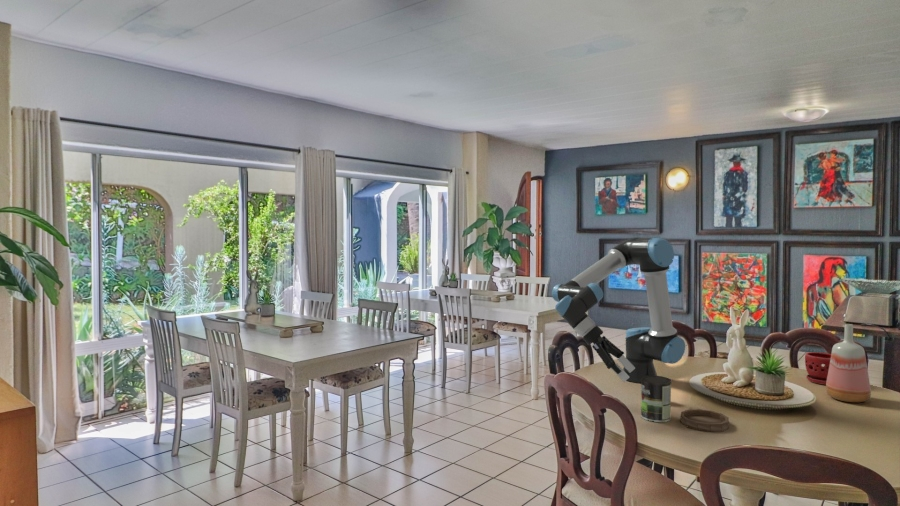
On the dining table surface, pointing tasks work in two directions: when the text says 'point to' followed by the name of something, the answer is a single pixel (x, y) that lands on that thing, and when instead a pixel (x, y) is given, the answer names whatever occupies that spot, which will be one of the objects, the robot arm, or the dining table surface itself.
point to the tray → (704, 420)
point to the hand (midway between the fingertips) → (630, 375)
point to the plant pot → (817, 366)
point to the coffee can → (655, 398)
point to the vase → (848, 371)
